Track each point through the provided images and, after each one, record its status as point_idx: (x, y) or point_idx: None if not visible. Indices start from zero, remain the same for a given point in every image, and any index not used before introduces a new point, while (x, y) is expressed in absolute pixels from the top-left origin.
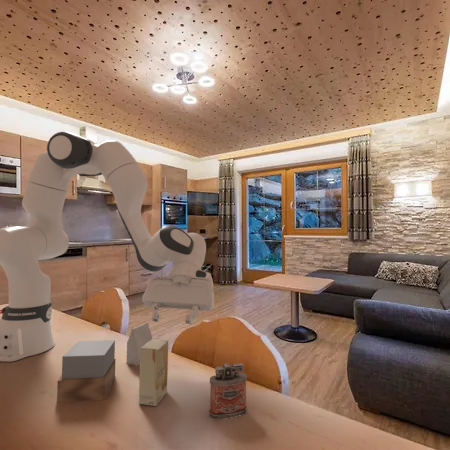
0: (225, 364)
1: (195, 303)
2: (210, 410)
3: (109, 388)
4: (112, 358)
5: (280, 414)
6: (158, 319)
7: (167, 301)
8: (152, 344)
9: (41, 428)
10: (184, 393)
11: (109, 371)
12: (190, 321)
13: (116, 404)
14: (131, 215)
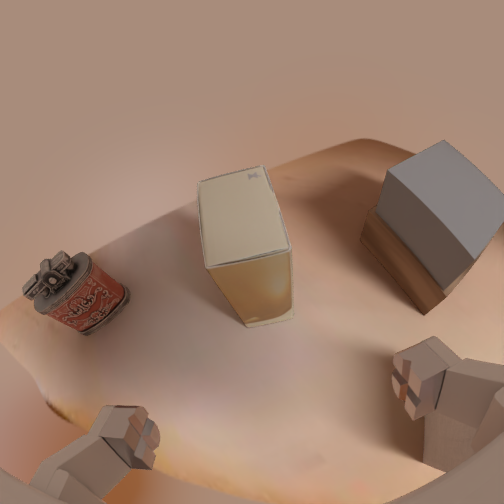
0: (45, 268)
1: (21, 482)
2: (121, 286)
3: (388, 271)
4: (435, 266)
5: (44, 336)
6: (399, 390)
7: (409, 501)
8: (241, 197)
9: (364, 160)
10: (202, 341)
11: (398, 244)
12: (108, 405)
13: (322, 239)
14: None
